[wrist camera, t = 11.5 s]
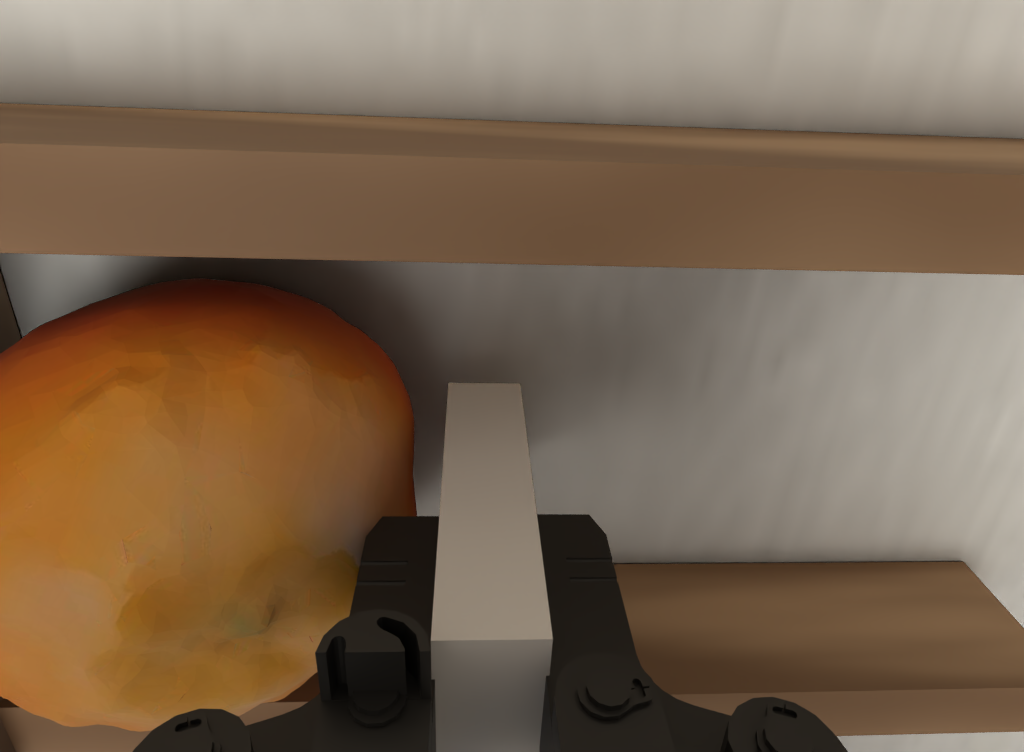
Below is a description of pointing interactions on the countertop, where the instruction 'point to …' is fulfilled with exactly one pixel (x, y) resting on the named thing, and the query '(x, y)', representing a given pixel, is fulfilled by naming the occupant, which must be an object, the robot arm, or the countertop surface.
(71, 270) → the countertop surface
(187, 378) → the fruit
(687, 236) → the guide lane
